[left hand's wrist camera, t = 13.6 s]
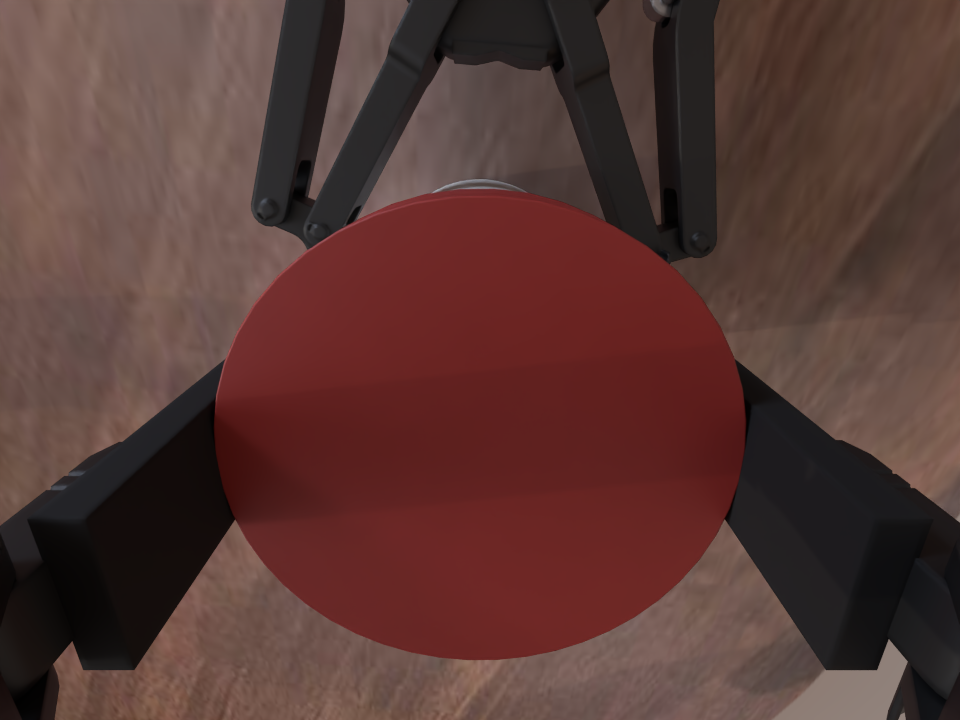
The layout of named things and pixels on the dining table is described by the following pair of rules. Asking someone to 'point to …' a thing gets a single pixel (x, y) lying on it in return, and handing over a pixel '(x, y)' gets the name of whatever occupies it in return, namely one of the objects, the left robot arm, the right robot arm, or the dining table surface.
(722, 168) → the dining table surface
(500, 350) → the lid
